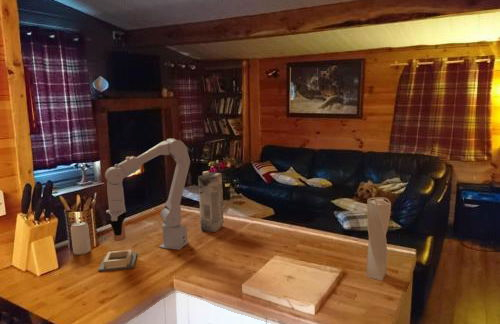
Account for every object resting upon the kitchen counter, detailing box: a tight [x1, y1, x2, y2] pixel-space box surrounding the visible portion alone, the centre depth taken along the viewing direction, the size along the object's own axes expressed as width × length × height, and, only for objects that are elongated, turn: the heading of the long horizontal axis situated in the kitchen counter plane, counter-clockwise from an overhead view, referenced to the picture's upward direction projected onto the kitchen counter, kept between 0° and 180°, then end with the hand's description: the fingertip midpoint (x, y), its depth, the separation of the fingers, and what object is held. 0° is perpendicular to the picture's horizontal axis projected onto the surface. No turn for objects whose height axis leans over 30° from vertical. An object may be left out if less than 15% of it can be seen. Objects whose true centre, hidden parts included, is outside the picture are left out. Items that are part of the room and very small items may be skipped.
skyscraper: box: [365, 196, 392, 282], centre depth 120 cm, size 8×8×28 cm
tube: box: [112, 217, 127, 242], centre depth 141 cm, size 4×4×8 cm
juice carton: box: [197, 170, 224, 233], centre depth 168 cm, size 9×10×27 cm
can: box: [70, 220, 91, 256], centre depth 147 cm, size 6×6×12 cm
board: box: [98, 249, 138, 272], centre depth 137 cm, size 12×12×3 cm
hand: (119, 232), depth 142 cm, fingers closed on tube, 4 cm apart
